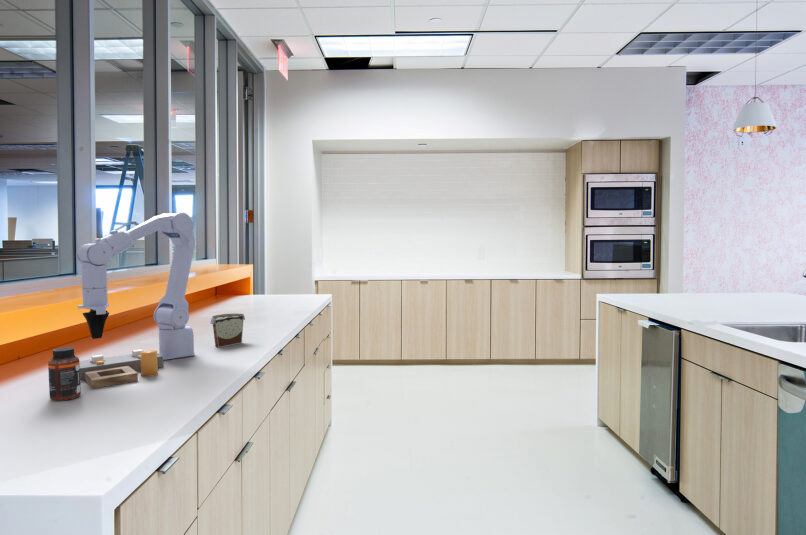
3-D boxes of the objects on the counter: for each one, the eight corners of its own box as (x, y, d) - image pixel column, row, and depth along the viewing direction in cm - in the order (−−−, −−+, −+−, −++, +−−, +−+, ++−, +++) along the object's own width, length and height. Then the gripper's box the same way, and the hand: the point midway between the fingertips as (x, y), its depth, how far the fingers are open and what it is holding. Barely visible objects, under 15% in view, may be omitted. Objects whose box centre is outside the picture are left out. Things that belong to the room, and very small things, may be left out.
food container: (234, 340, 179) (234, 312, 178) (245, 342, 175) (244, 313, 175) (203, 346, 169) (202, 316, 168) (214, 348, 165) (213, 318, 165)
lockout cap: (155, 371, 137) (154, 349, 137) (159, 374, 134) (158, 352, 134) (139, 373, 134) (138, 351, 134) (143, 376, 131) (142, 354, 131)
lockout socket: (128, 372, 135) (127, 365, 135) (138, 380, 128) (137, 372, 128) (84, 379, 129) (84, 372, 128) (92, 388, 121) (92, 380, 121)
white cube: (101, 363, 137) (101, 354, 137) (103, 365, 135) (103, 356, 135) (91, 364, 136) (91, 355, 136) (93, 366, 134) (93, 357, 134)
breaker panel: (153, 360, 148) (153, 348, 148) (163, 366, 141) (162, 354, 141) (74, 373, 135) (73, 359, 135) (79, 380, 128) (79, 366, 128)
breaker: (141, 357, 144) (141, 349, 144) (144, 359, 142) (143, 350, 142) (132, 359, 142) (132, 350, 142) (134, 360, 140) (134, 351, 140)
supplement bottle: (87, 395, 116) (85, 347, 115) (62, 403, 110) (60, 352, 110) (68, 392, 118) (66, 345, 117) (43, 400, 112) (41, 350, 112)
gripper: (72, 287, 137) (74, 336, 138) (82, 291, 126) (84, 344, 127) (102, 285, 142) (103, 332, 143) (114, 289, 131) (115, 340, 132)
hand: (96, 338), depth 135 cm, fingers closed
